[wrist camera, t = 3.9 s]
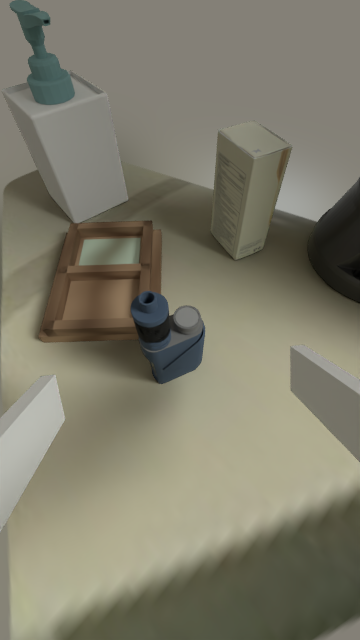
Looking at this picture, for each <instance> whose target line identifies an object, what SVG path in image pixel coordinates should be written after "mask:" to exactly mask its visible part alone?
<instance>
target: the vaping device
mask: <svg viewBox="0 0 360 640" xmlns="http://www.w3.org/2000/svg"><path fill="white" fill-rule="evenodd" d="M130 310H131V314H132V317H133V320H134V324H135V327H136V330H137V333H138V336H139V343H140V347H141V350H142V352H143V354H144V355H145V357H146V358H147V359H148V360H149V361H150V363H151V366H152V373H153V376H154V378H155V379H156V380H157V381H158V382H159V384H163V383H166V382H168V381H170V380H173V379H175V378H177V377H179V376H182V375H184V374H186V373H188V372H191V371H193V370H195V369H196V368H197V367H198V366H199V365H200V363H201V360H202V354H203V346H204V337H205V326H204V323H203V321H202V319H201V316H200V313H199V311H198V310H197V309H196V308H195V307H192V306H182V307H179V308H178V309H177V310H176V311H175V312H174V314H173V315H171V316H169V308H168V302H167V300H166V299H165V297H164V296H162V295H161V294H159V293H156V292H152V291H144V292H142V293H141V294H140V295H138V296H137V297H136V298H135V299H134V300H133V301H132V303H131V308H130Z"/></svg>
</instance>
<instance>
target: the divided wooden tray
mask: <svg viewBox="0 0 360 640" xmlns="http://www.w3.org/2000/svg"><path fill="white" fill-rule="evenodd" d="M161 250H162V235H161V230H153V225H152V221H126V222H96V223H71V224H70V227H69V231H68V233H66V237H65V241H64V244H63V248H62V252H61V255H60V259H59V263H58V266H57V270H56V274H55V277H54V281H53V285H52V288H51V292H50V296H49V299H48V303H47V307H46V310H45V314H44V318H43V321H42V325H41V329H40V332H39V336H38V337H39V338H40V339H41V340H42V341H43V342H74V341H105V340H136V339H139V336H138V333H137V330H136V327H135V324H134V320H133V317H132V314H131V310H130V308H131V303H132V301H133V300H134V299H135V298H136V297H137V296H138V295H140V294H141V293H142V292H144V291H152V292H156V293H159V294H161Z"/></svg>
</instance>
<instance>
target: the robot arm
mask: <svg viewBox="0 0 360 640" xmlns="http://www.w3.org/2000/svg"><path fill="white" fill-rule="evenodd" d="M308 255H309V258H310V261H311V263H312V265H313V267H314V269H315V270H316V272H317V273H318V274H319V275H320V276H321V278H322V279H323V280H324V281H325V282H326V283H328V284H329V285H330V286H331V287H333V288H334V289H335V290H337V291H338V292H340V293H341V294H343V295H345V296H347V297H349V298H351V299H353V300H355V301H358V302H360V178H359V179H358V181H357V182H356V183H355V184H354V185H353V186H352V187H351V188H350V189H349V190H348V191H347V192H346V193H345V195H344V196H343V197H342V198H341V199H340V200H339V201H338V202H337V203H336V204H335V205H334V206H333V207H332V208H331V209H329V210H328V211H327V212H326V213H325V214H324V215H323V216H322V217H321V218H320V219H319V221H318V222H317V224H316V226H315V228H314V230H313V232H312V234H311V236H310V238H309V241H308ZM290 358H291V391H292V392H293V393H294V394H295V396H296V397H297V398H298V399H299V400H300V401H301V402H302V403H303V404H304V405H305V406H306V407H307V408H308V409H309V410H310V411H311V412H312V413H313V414H314V415H315V416H316V417H317V418H318V419H319V420H320V421H321V422H322V423H323V424H324V426H325V427H326V428H327V429H328V430H329V431H330V432H331V433H332V434H333V435H334V436H335V437H336V438H337V439H338V440H339V441H340V442H341V443H342V444H343V445H344V446H345V447H346V448H347V449H348V450H349V451H350V452H351V453H352V454H353V455H354V457H355V458H356V459H357V460H358V461H359V462H360V380H359V379H358V378H356V377H355V376H353V375H351V374H350V373H348V372H347V371H345V370H343V369H342V368H340V367H339V366H337V365H335V364H334V363H332V362H331V361H329V360H327V359H326V358H324V357H323V356H321V355H319V354H318V353H316V352H314V351H313V350H311V349H310V348H308V347H306V346H305V345H297V346H290ZM64 420H65V416H64V412H63V407H62V403H61V398H60V394H59V389H58V385H57V380H56V376H55V375H47V376H41V377H40V378H39V379H38V380H37V381H36V382H35V383H34V384H33V385H32V386H31V387H30V388H29V389H28V390H27V391H26V392H25V393H24V394H23V395H22V396H21V397H20V398H19V399H18V400H17V401H16V402H15V403H14V404H13V405H12V406H11V407H10V408H9V409H8V410H7V411H6V412H5V413H4V414H3V415H2V417H1V418H0V532H1V530H2V529H3V527H4V525H5V523H6V522H7V520H8V518H9V516H10V515H11V513H12V511H13V509H14V508H15V506H16V504H17V502H18V501H19V499H20V497H21V495H22V494H23V492H24V490H25V488H26V487H27V485H28V483H29V481H30V480H31V478H32V476H33V474H34V473H35V471H36V469H37V468H38V466H39V464H40V462H41V461H42V459H43V457H44V455H45V454H46V452H47V450H48V448H49V447H50V445H51V443H52V441H53V440H54V438H55V436H56V434H57V433H58V431H59V429H60V427H61V426H62V424H63V422H64Z"/></svg>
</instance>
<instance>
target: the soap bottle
mask: <svg viewBox="0 0 360 640" xmlns="http://www.w3.org/2000/svg"><path fill="white" fill-rule="evenodd" d="M10 8H11V10H12V11H14V12H15V13H17V16H18V19H19V21H20V24H21V27H22V30H23V33H24V35H25V38H26V40H27V41H28V42H29V43H30V44H31V46H32V49H33V51H34V54H35V55H33V56H31V57H29V59H28V64H29V67H30V69H31V72H32V74H30V75H29V76H28V78H27V83H24V84H20V85H17V86H13V87H9V88H6V89H3V90H2V93H3V95H4V98H5V100H6V102H7V104H8V106H9V108H10V111H11V113H12V115H13V117H14V119H15V121H16V123H17V126H18V128H19V130H20V132H21V134H22V136H23V139H24V141H25V143H26V145H27V147H28V149H29V151H30V154H31V156H32V158H33V160H34V162H35V164H36V166H37V168H38V171H39V173H40V175H41V177H42V179H43V181H44V184H45V186H46V188H47V190H48V192H49V194H50V196H51V197H52V198H53V199H54V200H55V202H56V203H57V204H58V205H59V206H60V207H61V208H62V210H63V211H64V212H65V213H66V214H67V215H68V217H69V218H70V219H71V220H72V221H73V222H74V223H81V222H83V221H85V220H87V219H90V218H92V217H94V216H96V215H98V214H100V213H102V212H104V211H107V210H109V209H111V208H113V207H115V206H117V205H119V204H122V203H124V202H126V201H128V195H127V190H126V185H125V180H124V175H123V170H122V165H121V160H120V155H119V150H118V145H117V140H116V136H115V130H114V125H113V120H112V115H111V110H110V106H109V100H108V96H107V93H106V92H104V91H103V90H101V89H100V88H98V87H97V86H95V85H94V84H92V83H90V82H89V81H87V80H86V79H84V78H83V77H81V76H80V75H78V74H76V73H75V72H73V71H71V70H70V71H66V70H64V69H61V68H60V64H59V61H58V59H57V57H56V56H55V55H54V54H51V53H47V52H46V49H45V46H44V38H45V36H44V33H43V30H42V25H44V26H47V25H50V17H49V15H48V13H46V12H44V11H40V10H39V8H36V7H34V6H33V5H31V4H30V3H29V2H27V1H24V0H16V1H13V2H11V3H10Z"/></svg>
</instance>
